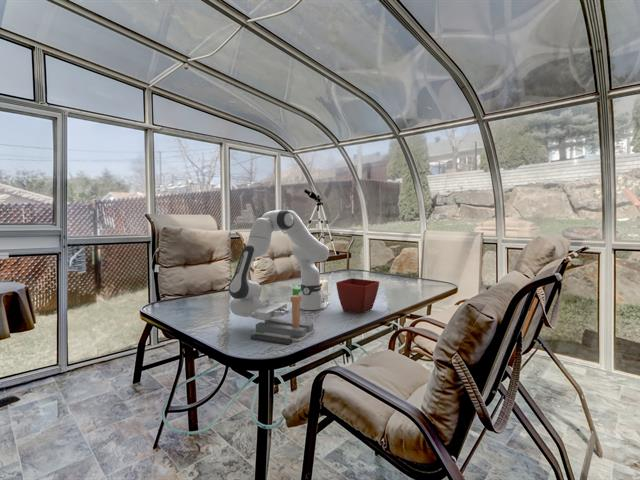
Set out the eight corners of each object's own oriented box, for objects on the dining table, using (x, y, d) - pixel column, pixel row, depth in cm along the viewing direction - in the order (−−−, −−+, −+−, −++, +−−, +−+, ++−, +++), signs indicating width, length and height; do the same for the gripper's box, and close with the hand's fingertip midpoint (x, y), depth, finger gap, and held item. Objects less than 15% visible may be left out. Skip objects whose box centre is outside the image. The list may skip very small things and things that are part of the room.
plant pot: (379, 309, 205) (380, 281, 204) (365, 316, 189) (365, 286, 188) (351, 304, 215) (351, 277, 214) (335, 311, 200) (335, 282, 199)
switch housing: (271, 324, 174) (271, 316, 174) (315, 330, 165) (315, 322, 165) (253, 334, 159) (253, 325, 159) (300, 341, 150) (300, 332, 150)
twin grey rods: (254, 336, 156) (254, 332, 156) (293, 342, 149) (293, 338, 149) (249, 339, 153) (249, 335, 153) (289, 345, 145) (289, 341, 145)
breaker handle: (294, 329, 162) (294, 294, 161) (301, 330, 161) (301, 295, 160) (290, 332, 159) (290, 296, 158) (297, 333, 157) (297, 297, 156)
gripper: (248, 308, 157) (274, 311, 151) (271, 298, 176) (296, 301, 170) (248, 321, 157) (274, 325, 152) (271, 311, 176) (296, 313, 171)
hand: (286, 312), depth 161 cm, fingers closed
